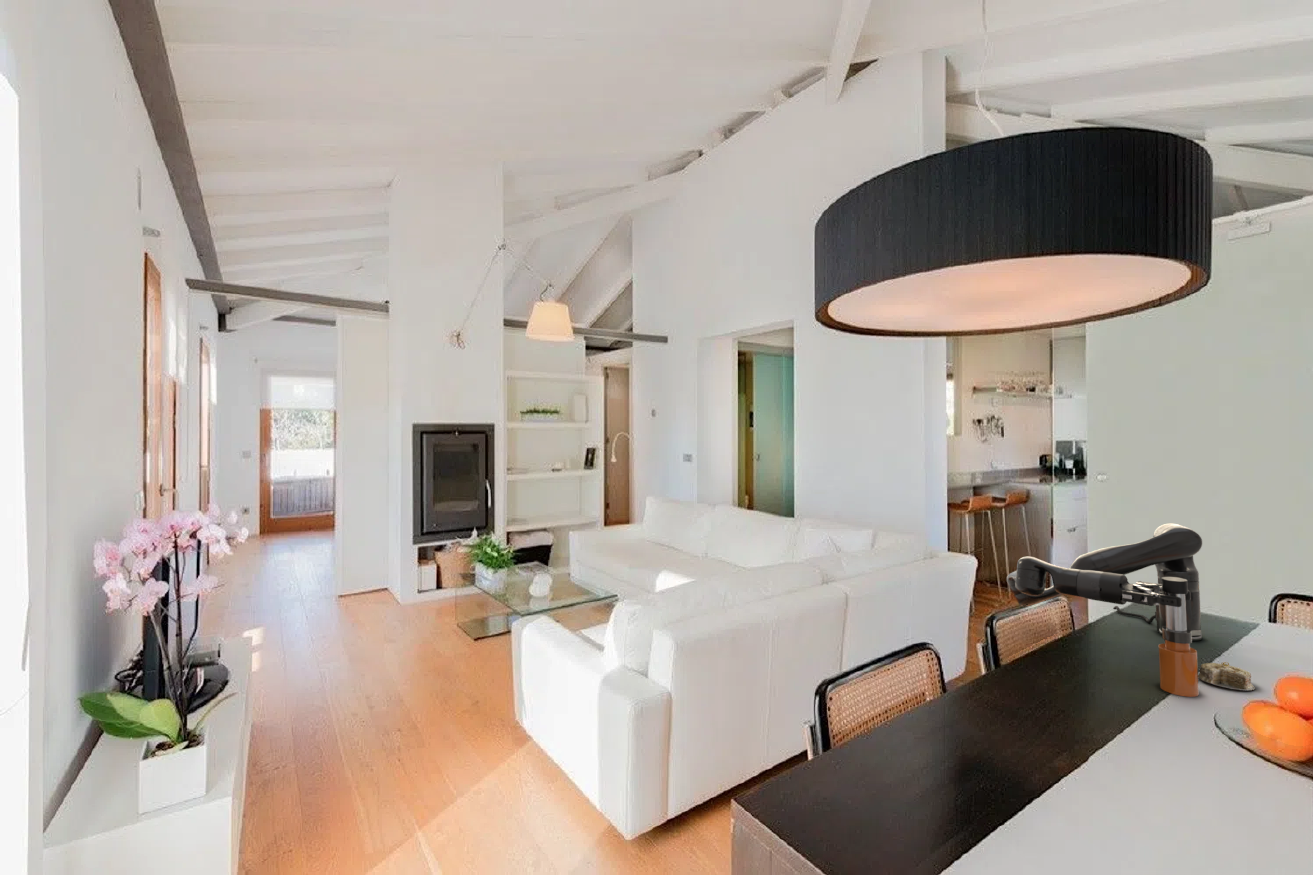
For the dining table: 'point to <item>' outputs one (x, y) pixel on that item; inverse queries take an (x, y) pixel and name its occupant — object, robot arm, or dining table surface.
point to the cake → (1226, 676)
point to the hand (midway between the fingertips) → (1185, 598)
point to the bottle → (1178, 664)
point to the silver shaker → (1173, 614)
